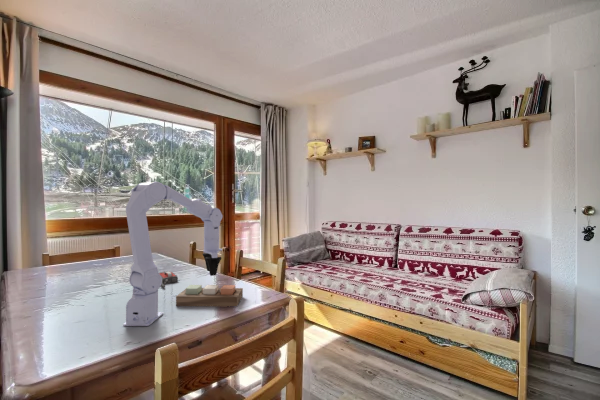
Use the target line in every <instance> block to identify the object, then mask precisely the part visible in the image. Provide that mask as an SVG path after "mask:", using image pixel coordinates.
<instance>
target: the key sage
mask: <svg viewBox="0 0 600 400" xmlns="http://www.w3.org/2000/svg"><path fill="white" fill-rule="evenodd" d="M202 286H203V285H202V284H189V285H188V286H187V287H186V288H185V289H186V294H199V293H200V292H201V291H202V288H203V287H202Z"/></svg>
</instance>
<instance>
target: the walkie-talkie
mask: <svg viewBox="0 0 600 400" xmlns="http://www.w3.org/2000/svg"><path fill="white" fill-rule="evenodd" d="M158 273H159V274H160V275H161V277H162V284H161V286H160V287H162V288H166V285H167V284H172V283H177V282H178V280H179V277H178V276H177V275H176V274H175V273H173V272H172V271H169V270H167V271H162V272H161V271H160V272H158Z"/></svg>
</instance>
